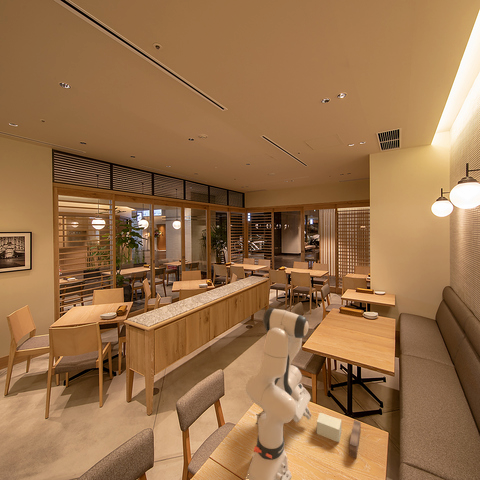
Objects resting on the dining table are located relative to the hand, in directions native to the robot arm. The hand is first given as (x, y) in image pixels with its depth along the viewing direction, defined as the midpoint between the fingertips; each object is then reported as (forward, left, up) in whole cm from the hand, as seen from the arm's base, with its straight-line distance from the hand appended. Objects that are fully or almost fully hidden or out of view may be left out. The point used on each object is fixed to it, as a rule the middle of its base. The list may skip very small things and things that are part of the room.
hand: (310, 417), depth 134 cm
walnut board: (0, -22, -4) cm, 23 cm away
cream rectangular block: (0, -10, -5) cm, 11 cm away
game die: (-14, +22, -5) cm, 26 cm away
